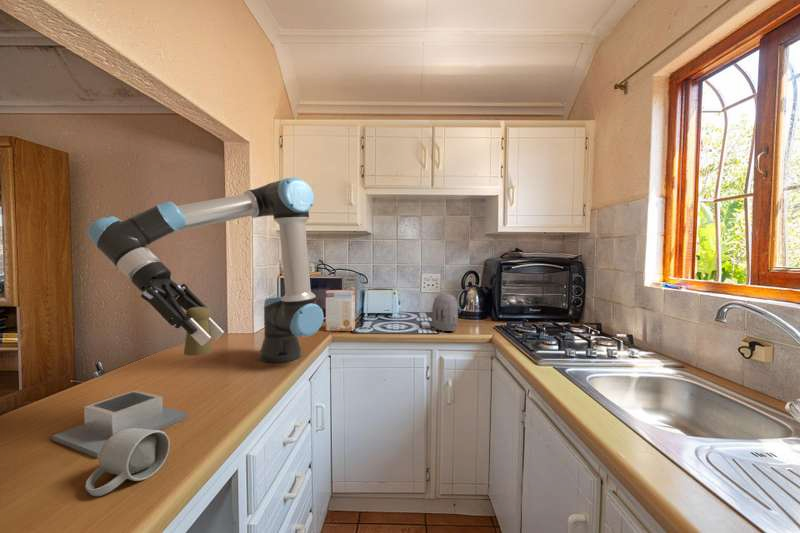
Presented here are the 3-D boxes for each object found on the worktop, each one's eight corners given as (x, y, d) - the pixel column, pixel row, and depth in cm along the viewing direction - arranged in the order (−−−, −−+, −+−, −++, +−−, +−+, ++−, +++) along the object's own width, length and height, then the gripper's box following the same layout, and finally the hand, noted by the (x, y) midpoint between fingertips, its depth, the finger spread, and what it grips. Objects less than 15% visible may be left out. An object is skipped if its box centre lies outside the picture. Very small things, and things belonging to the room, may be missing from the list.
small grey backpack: (460, 332, 174) (461, 293, 174) (450, 335, 168) (451, 294, 168) (437, 327, 185) (438, 291, 184) (427, 330, 179) (427, 292, 179)
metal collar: (135, 410, 83) (135, 389, 83) (162, 417, 79) (162, 396, 79) (84, 429, 74) (84, 406, 73) (112, 439, 70) (112, 415, 70)
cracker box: (355, 330, 178) (355, 290, 178) (352, 332, 172) (352, 291, 172) (329, 329, 180) (329, 289, 179) (325, 331, 174) (325, 290, 173)
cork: (187, 349, 86) (187, 305, 85) (214, 347, 88) (214, 305, 87) (180, 356, 80) (180, 309, 80) (209, 354, 82) (209, 308, 82)
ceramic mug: (138, 456, 66) (137, 417, 65) (171, 463, 63) (170, 423, 63) (72, 493, 56) (70, 447, 55) (108, 504, 53) (106, 456, 53)
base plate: (145, 405, 88) (145, 401, 88) (188, 417, 82) (188, 413, 82) (52, 440, 71) (52, 435, 71) (97, 458, 65) (97, 453, 65)
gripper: (161, 279, 93) (222, 340, 93) (102, 284, 74) (178, 360, 75) (180, 259, 92) (241, 321, 93) (126, 260, 74) (202, 336, 75)
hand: (213, 338), depth 84 cm, fingers closed on cork, 5 cm apart
